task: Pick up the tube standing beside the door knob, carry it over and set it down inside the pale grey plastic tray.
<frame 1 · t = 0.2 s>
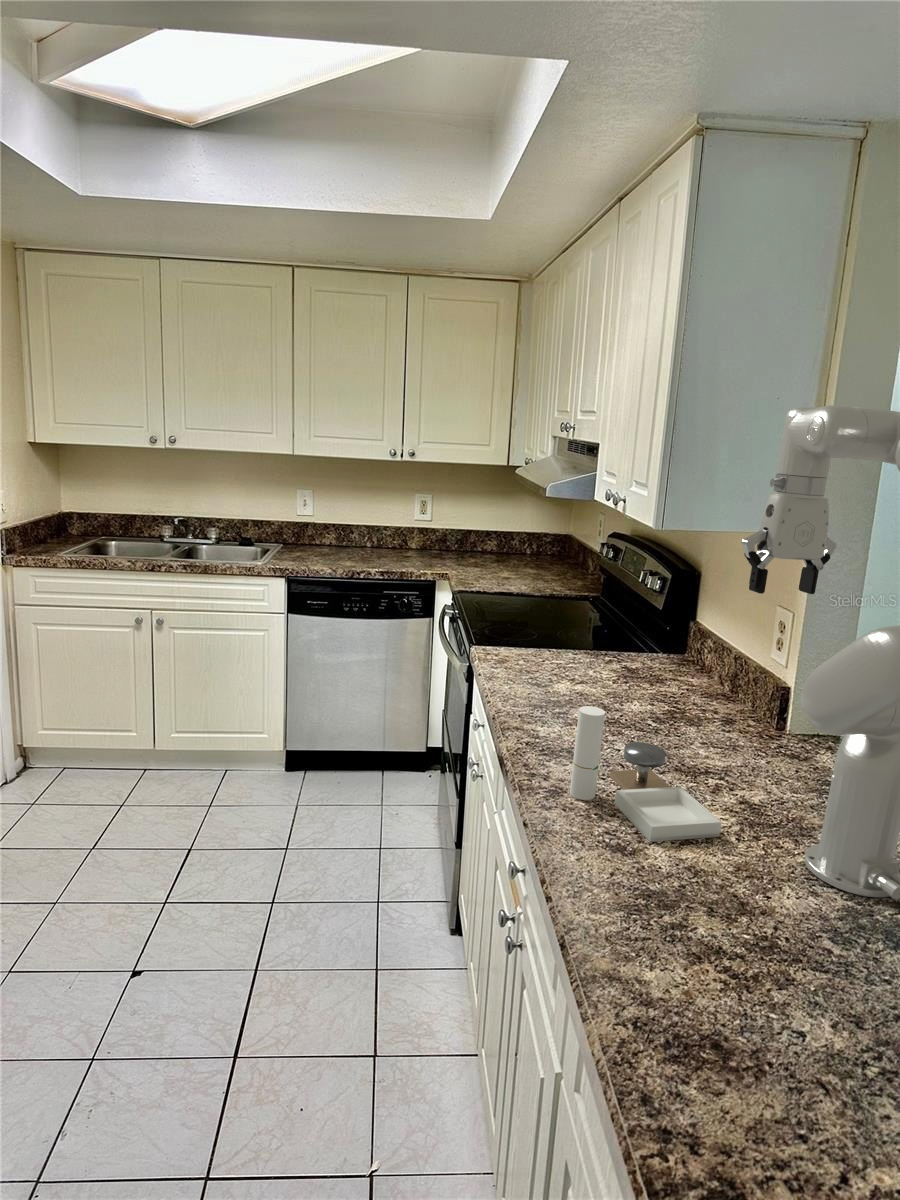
hand: (781, 592, 127), 36 cm above the worktop, tool pointing down, fingers open, 9 cm apart
tube: (582, 795, 131), on the worktop
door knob: (640, 785, 136), on the worktop
tray: (665, 819, 124), on the worktop
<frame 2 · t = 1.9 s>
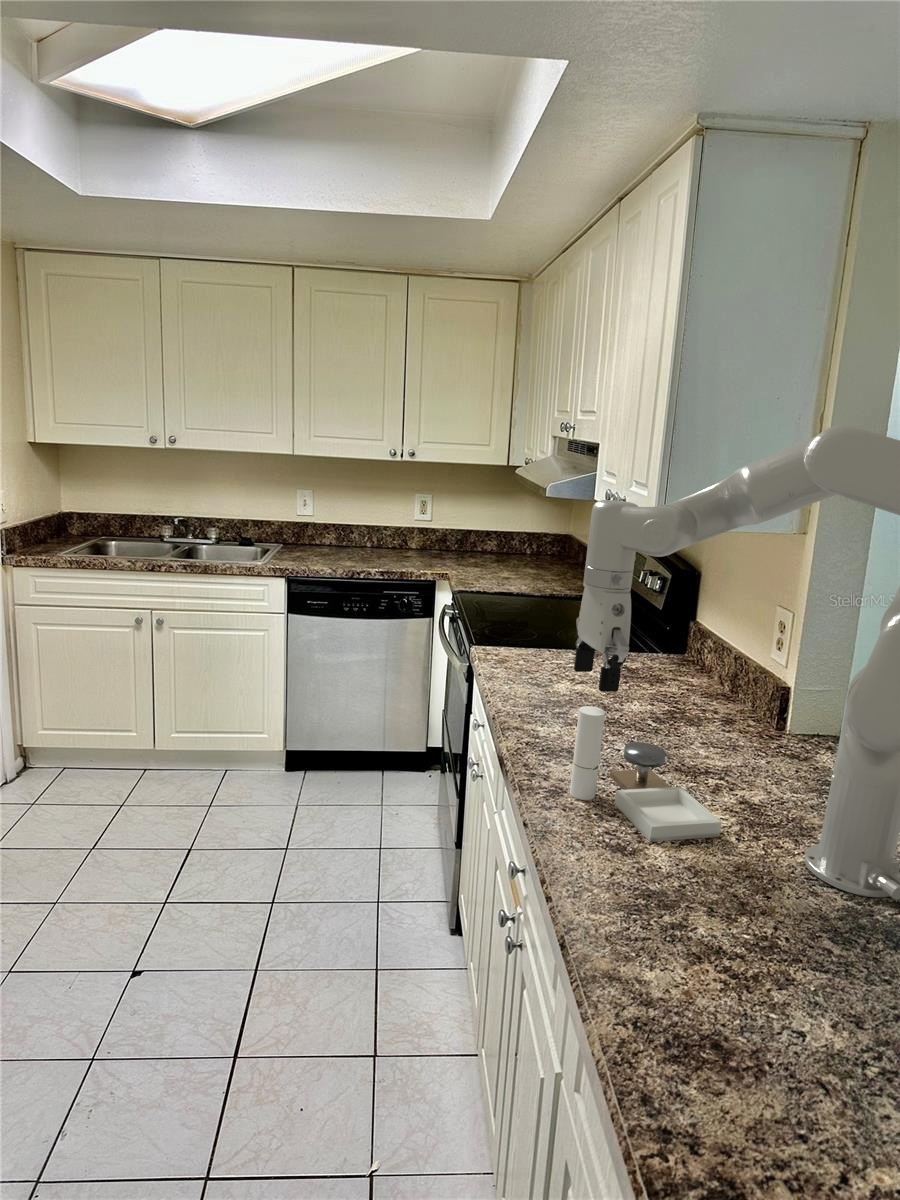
hand: (595, 680, 127), 20 cm above the worktop, tool pointing down, fingers open, 9 cm apart
nothing on the worktop moved.
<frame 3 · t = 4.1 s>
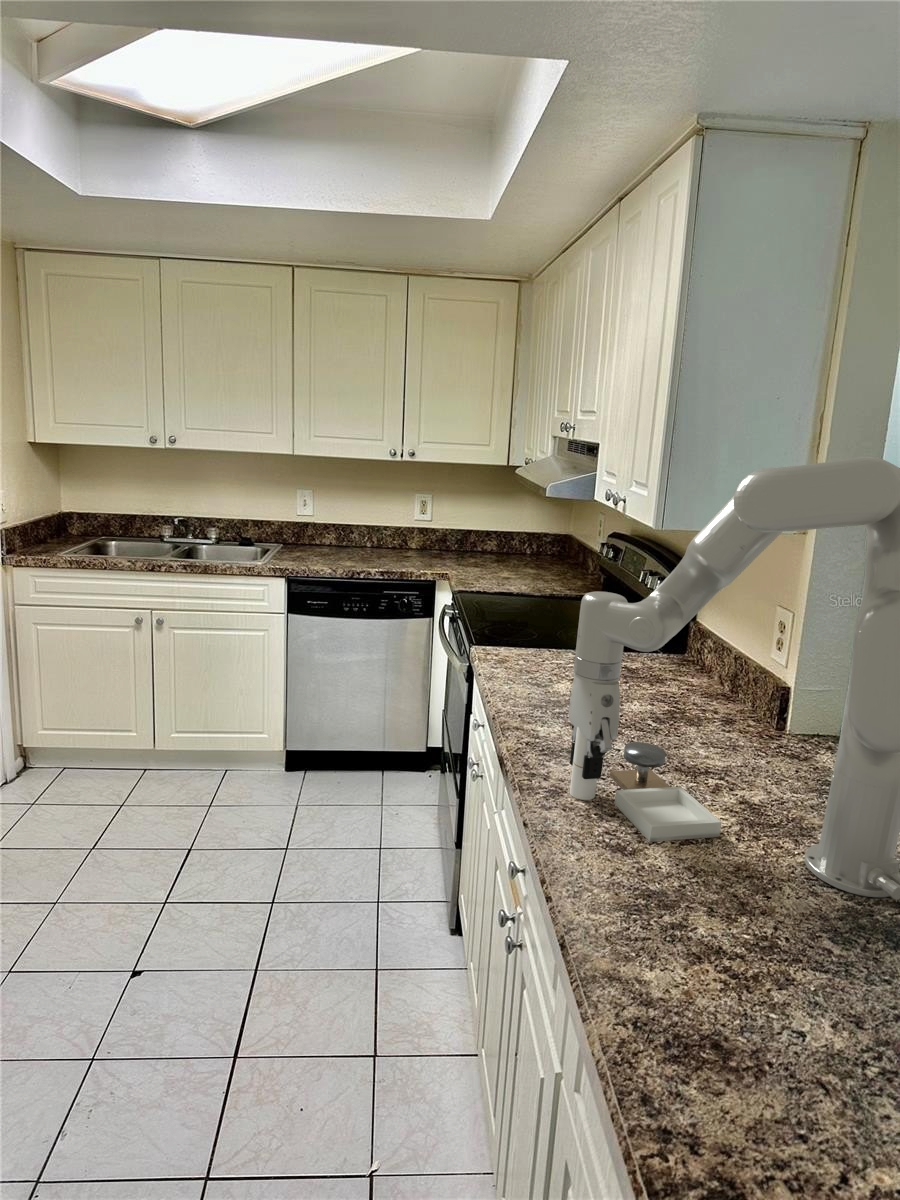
hand: (585, 770, 130), 4 cm above the worktop, tool pointing down, fingers closed on tube, 4 cm apart
tube: (582, 795, 131), on the worktop, touching gripper
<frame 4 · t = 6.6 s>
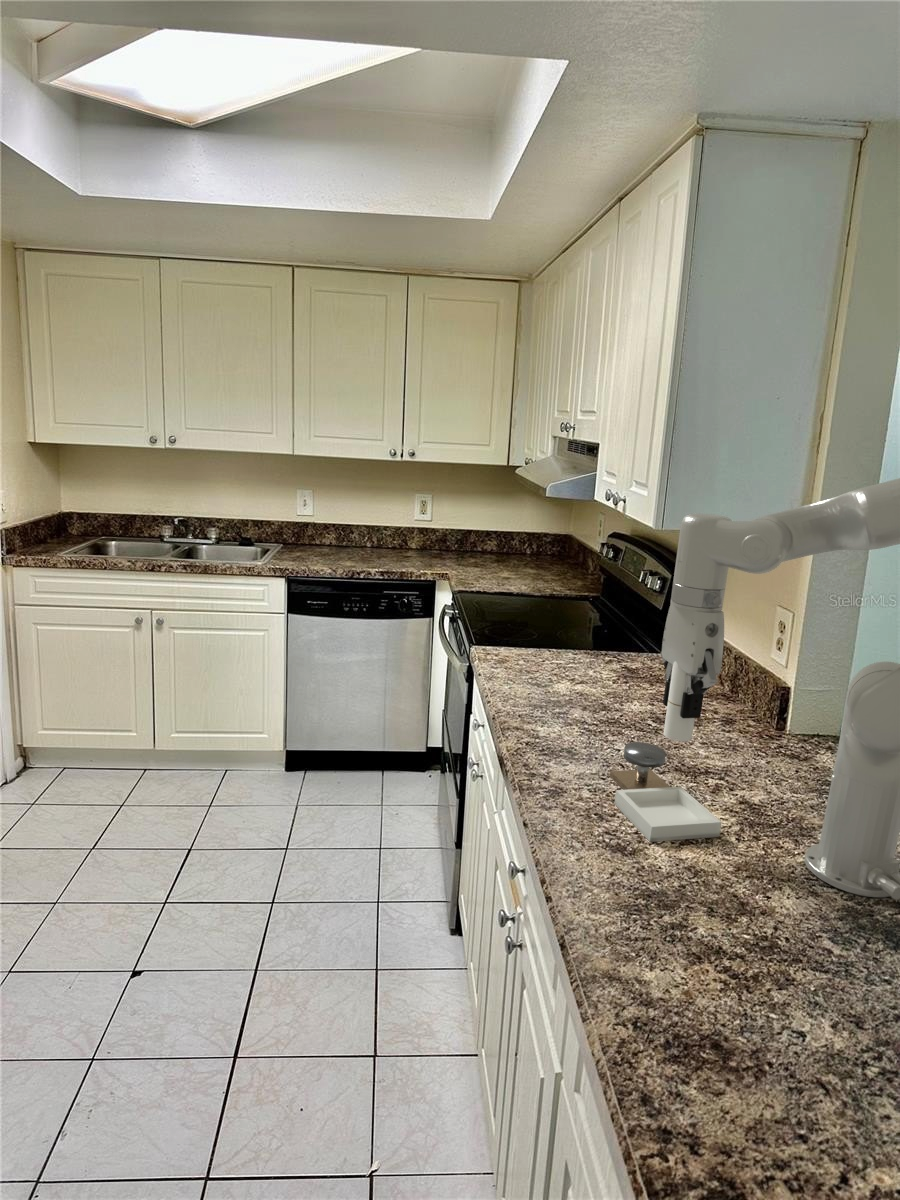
hand: (681, 710, 120), 19 cm above the worktop, tool pointing down, fingers closed on tube, 4 cm apart
tube: (677, 737, 121), point 14 cm above the worktop, touching gripper
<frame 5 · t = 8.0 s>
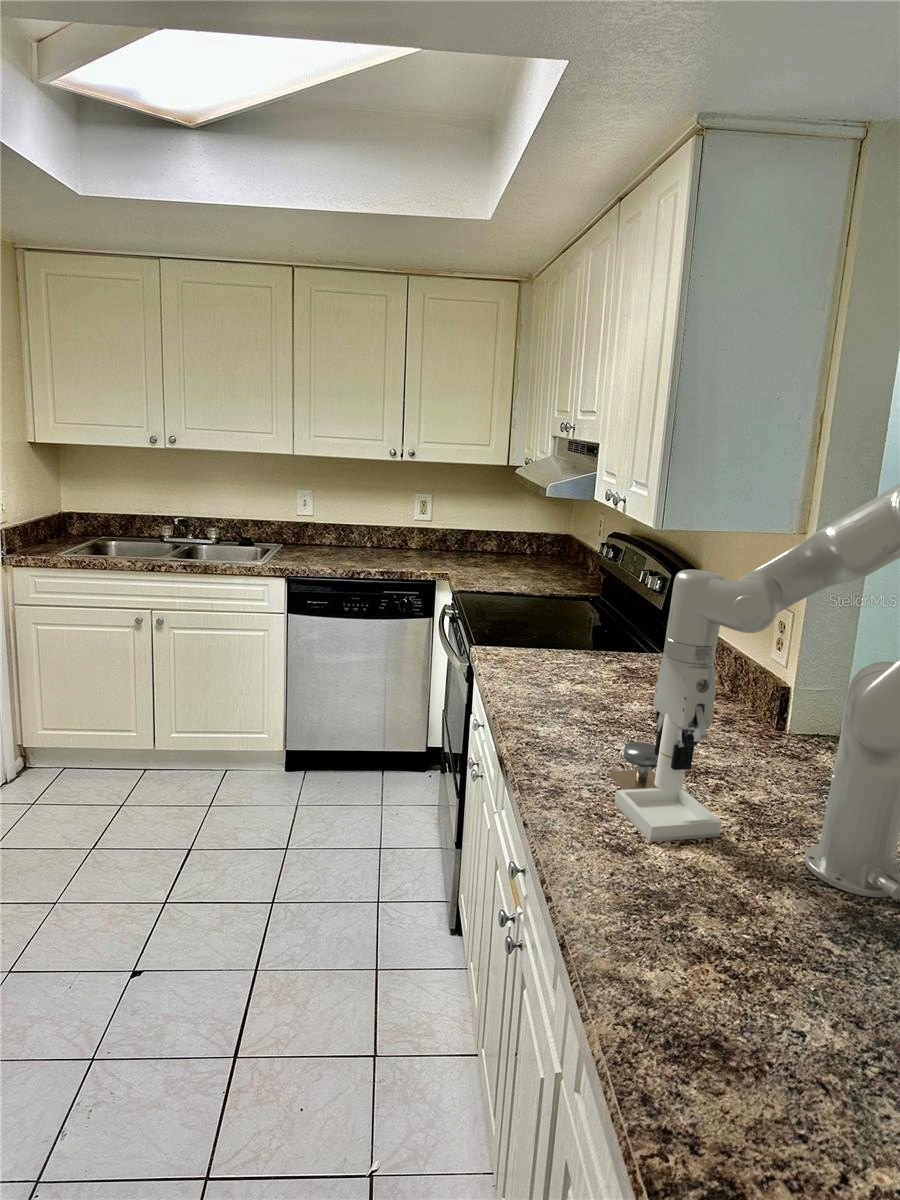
hand: (672, 760, 122), 10 cm above the worktop, tool pointing down, fingers closed on tube, 4 cm apart
tube: (668, 786, 123), point 6 cm above the worktop, touching gripper
when the fingers open (6 cm above the worktop, at t = 9.3 s): tube stays where it is, resting on tray.
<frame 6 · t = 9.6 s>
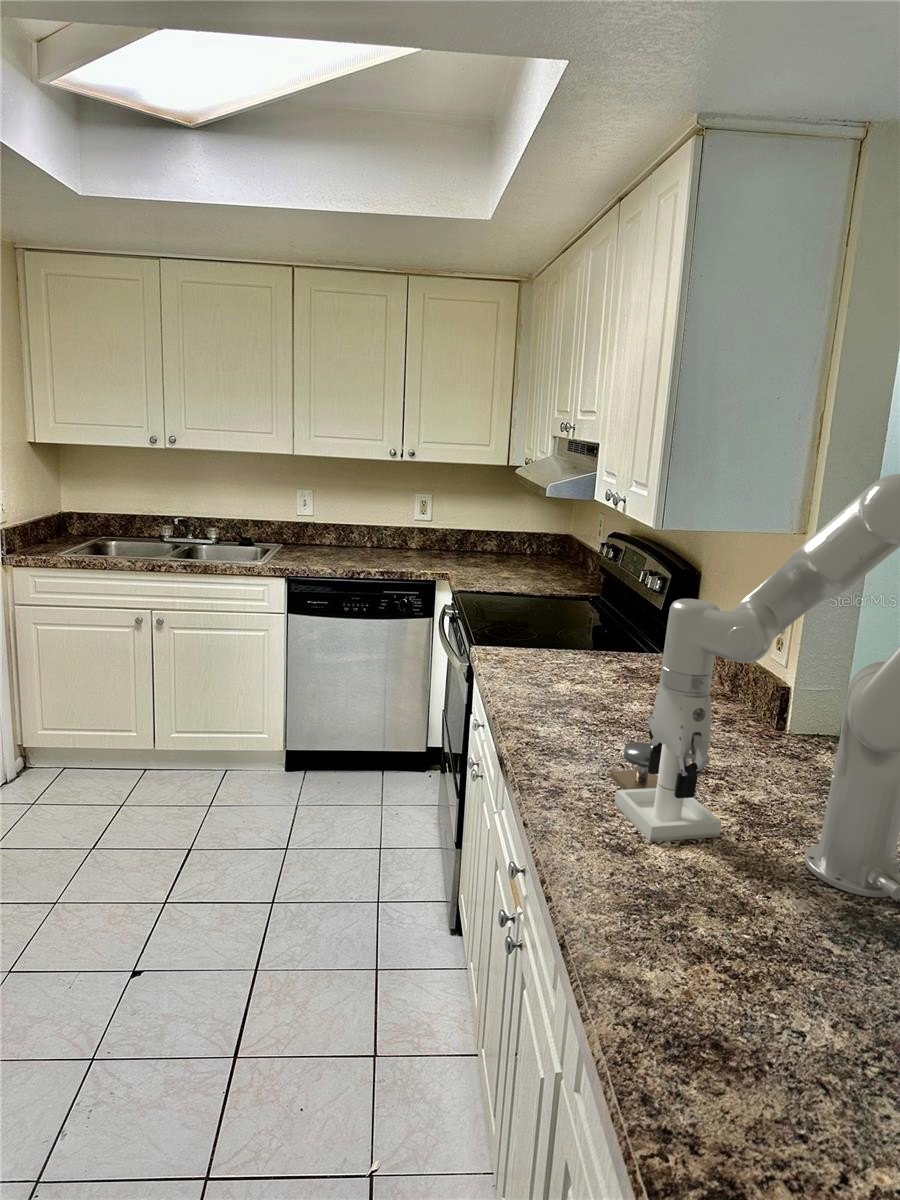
hand: (670, 784, 123), 6 cm above the worktop, tool pointing down, fingers open, 7 cm apart
tube: (666, 817, 124), resting on tray
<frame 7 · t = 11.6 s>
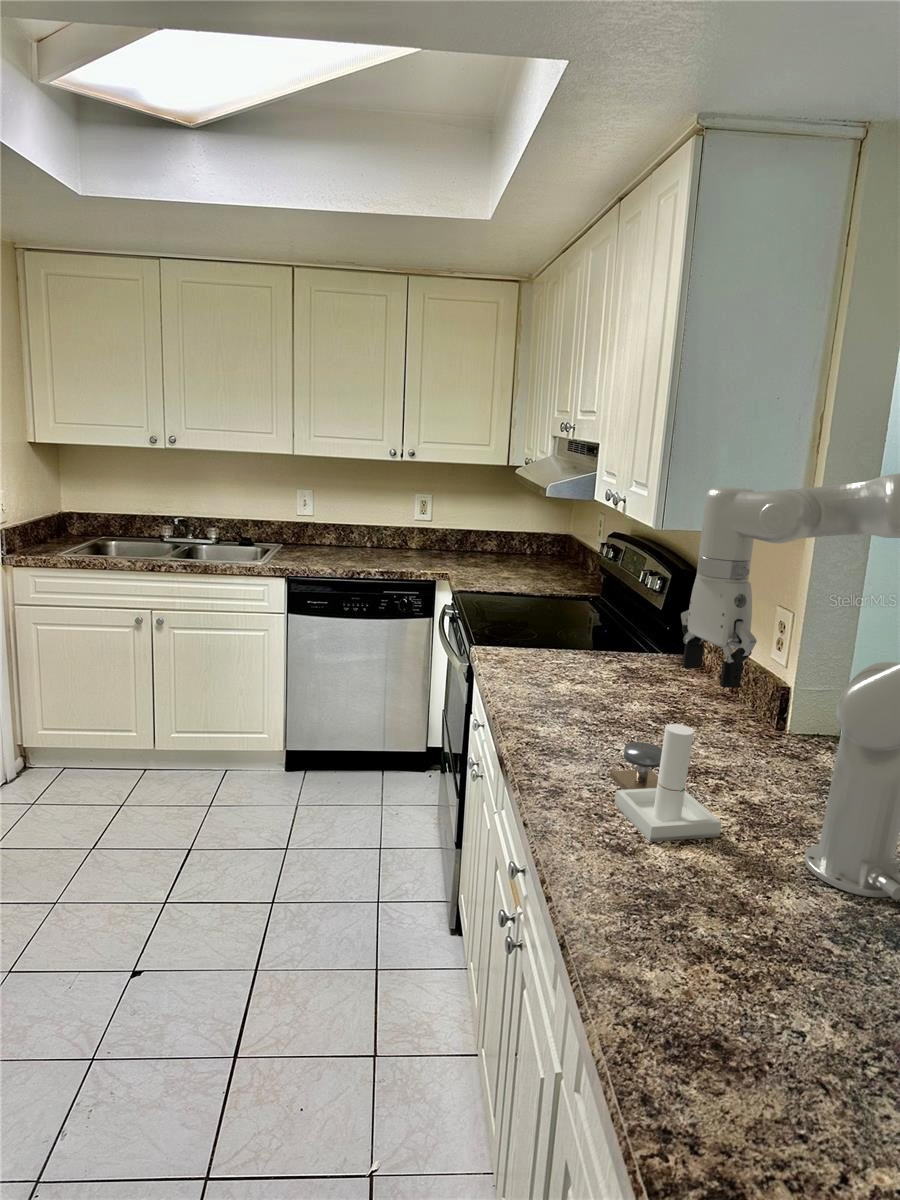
hand: (710, 677, 121), 24 cm above the worktop, tool pointing down, fingers open, 9 cm apart
nothing on the worktop moved.
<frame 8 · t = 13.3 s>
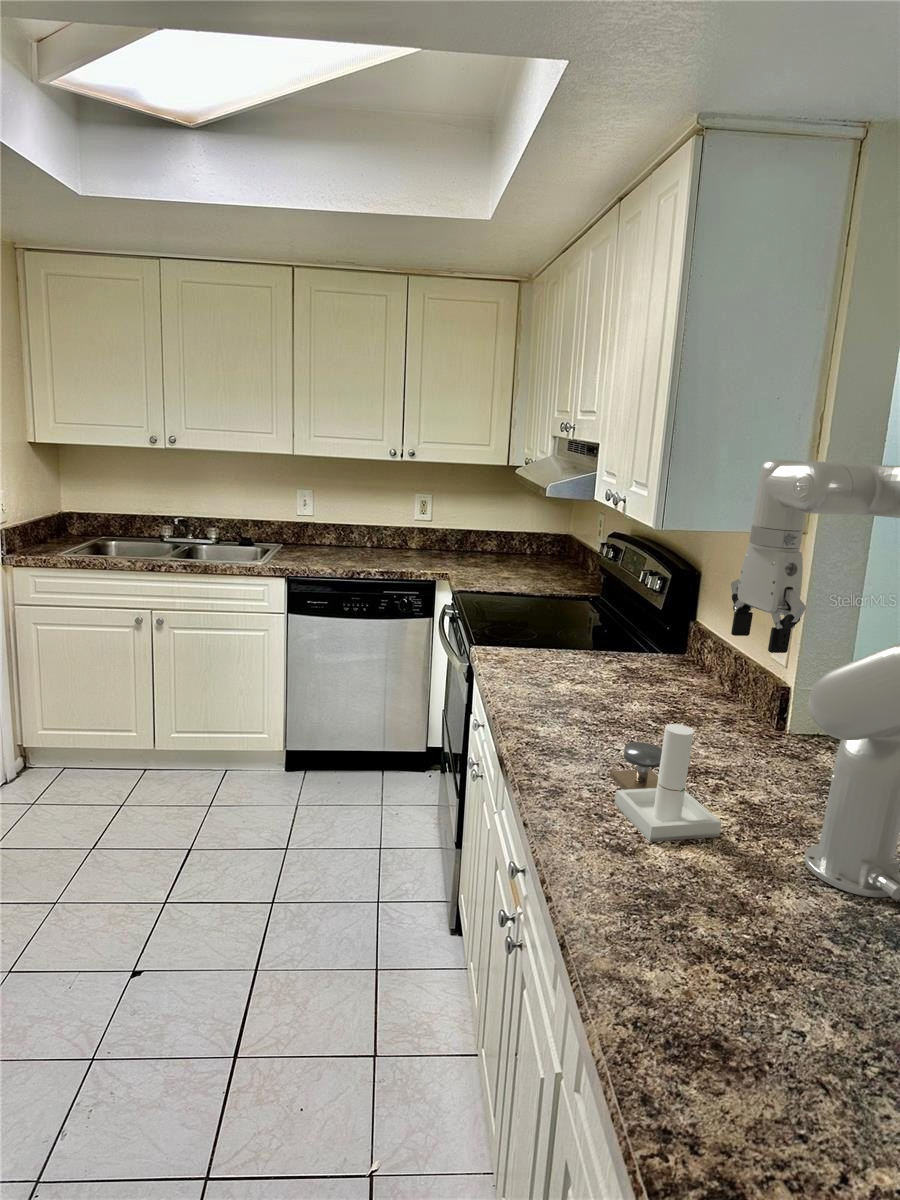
hand: (758, 643, 126), 28 cm above the worktop, tool pointing down, fingers open, 9 cm apart
nothing on the worktop moved.
at the end: tube inside the target area on the tray (0.2 cm from its centre), point 0.4 cm above the tray's base; the gripper is holding nothing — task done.
